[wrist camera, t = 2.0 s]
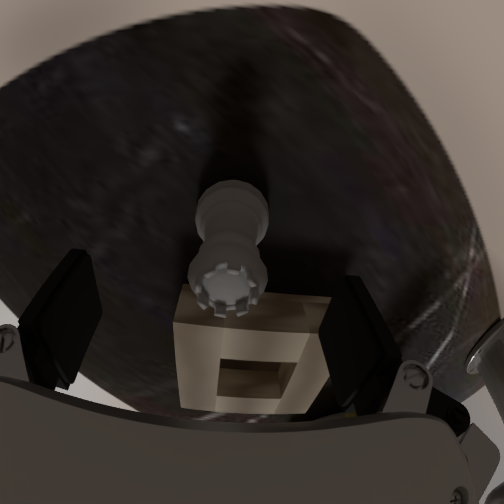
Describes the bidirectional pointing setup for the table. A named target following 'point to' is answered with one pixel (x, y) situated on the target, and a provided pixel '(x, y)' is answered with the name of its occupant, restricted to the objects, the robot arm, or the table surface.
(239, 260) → the rook chess piece
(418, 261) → the table surface
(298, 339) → the socket block
